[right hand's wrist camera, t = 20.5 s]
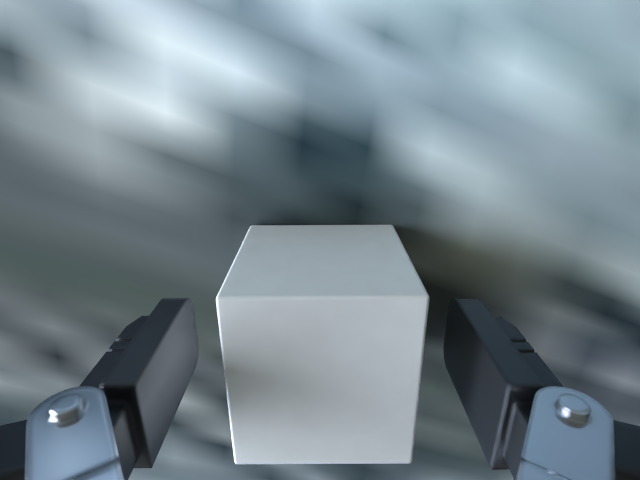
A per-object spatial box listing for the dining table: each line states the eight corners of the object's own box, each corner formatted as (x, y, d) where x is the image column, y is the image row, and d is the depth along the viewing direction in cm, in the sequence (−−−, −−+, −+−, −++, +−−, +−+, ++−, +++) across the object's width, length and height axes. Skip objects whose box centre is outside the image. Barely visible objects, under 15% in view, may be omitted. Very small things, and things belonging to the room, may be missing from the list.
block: (259, 351, 14) (234, 465, 10) (249, 224, 13) (214, 297, 8) (385, 351, 14) (412, 464, 10) (393, 223, 13) (431, 296, 8)
